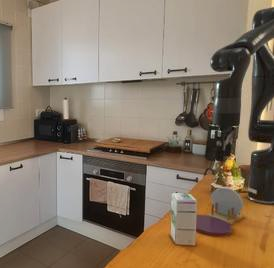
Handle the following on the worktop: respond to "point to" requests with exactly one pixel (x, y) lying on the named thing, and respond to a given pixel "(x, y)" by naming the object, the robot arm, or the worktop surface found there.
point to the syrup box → (183, 218)
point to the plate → (227, 201)
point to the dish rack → (225, 218)
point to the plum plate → (212, 226)
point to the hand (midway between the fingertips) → (223, 158)
